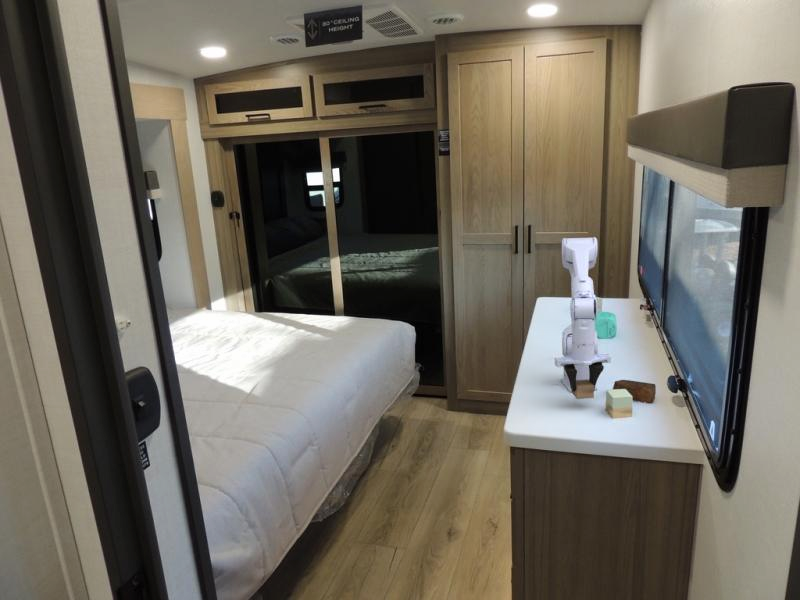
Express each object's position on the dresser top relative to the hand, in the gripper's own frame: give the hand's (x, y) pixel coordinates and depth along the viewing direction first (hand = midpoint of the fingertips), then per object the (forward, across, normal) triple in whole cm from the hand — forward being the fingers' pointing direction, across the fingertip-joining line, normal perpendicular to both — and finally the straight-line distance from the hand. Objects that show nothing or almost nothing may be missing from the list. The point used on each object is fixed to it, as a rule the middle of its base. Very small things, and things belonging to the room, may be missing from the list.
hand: (582, 389), depth 158 cm
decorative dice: (+6, +28, +57) cm, 64 cm away
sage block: (+2, +8, -5) cm, 10 cm away
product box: (+6, +33, +83) cm, 89 cm away
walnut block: (+2, 0, 0) cm, 2 cm away
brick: (+6, +16, +3) cm, 17 cm away
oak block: (+6, +8, -5) cm, 11 cm away
